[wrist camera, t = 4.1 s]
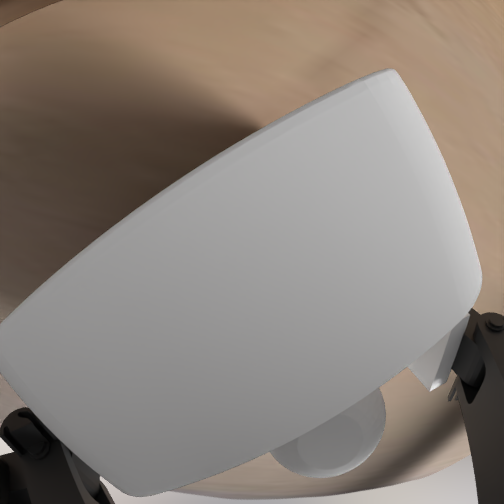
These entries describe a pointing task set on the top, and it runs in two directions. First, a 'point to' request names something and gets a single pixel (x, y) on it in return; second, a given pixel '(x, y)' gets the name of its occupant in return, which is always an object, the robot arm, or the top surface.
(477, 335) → the robot arm
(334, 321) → the white knobbed block
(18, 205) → the top surface
